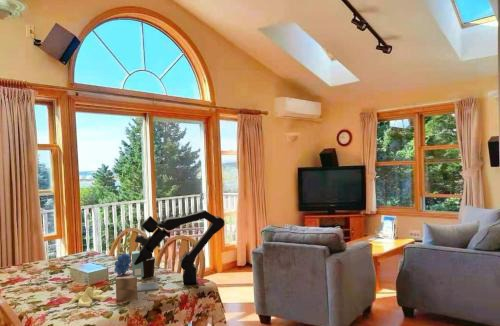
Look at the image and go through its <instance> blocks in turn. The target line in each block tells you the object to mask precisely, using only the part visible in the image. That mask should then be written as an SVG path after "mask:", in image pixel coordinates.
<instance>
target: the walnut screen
mask: <svg viewBox="0 0 500 326" xmlns="http://www.w3.org/2000/svg"><path fill="white" fill-rule="evenodd" d="M137 290H138V278H137V276H133V275H132V276H118V277H117V276H116V278H115V296H116V297H115V301H116V302H117V300H118V301H132V300H133V301H134V300H137V298H138V292H137Z"/></svg>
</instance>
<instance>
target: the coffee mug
mask: <svg viewBox="0 0 500 326" xmlns="http://www.w3.org/2000/svg"><path fill="white" fill-rule="evenodd" d="M155 265H156V257H155V256H153V255H152V258H151V259H147V260H145V261H143V273H144V277H143V279H150V278H153V277H154V276H155V267H156V266H155Z"/></svg>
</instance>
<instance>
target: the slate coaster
mask: <svg viewBox="0 0 500 326" xmlns="http://www.w3.org/2000/svg"><path fill="white" fill-rule="evenodd" d="M158 290H159V282H150V283H142V284H141V283H140V284H138V283H137V293H139V292H140V293H141V292H148V291H158Z"/></svg>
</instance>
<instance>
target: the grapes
mask: <svg viewBox="0 0 500 326" xmlns="http://www.w3.org/2000/svg"><path fill="white" fill-rule="evenodd" d="M130 264H132V258H131V254H130V253H127V252H122V253H121V254H120V255H118V256H117V260H116V261H115V262H114V266H115V267H114V272H116V274H117V275H118V276H120V275H125V274H126V273H127V271H128V270H129V269H130V267H131V265H130Z"/></svg>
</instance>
